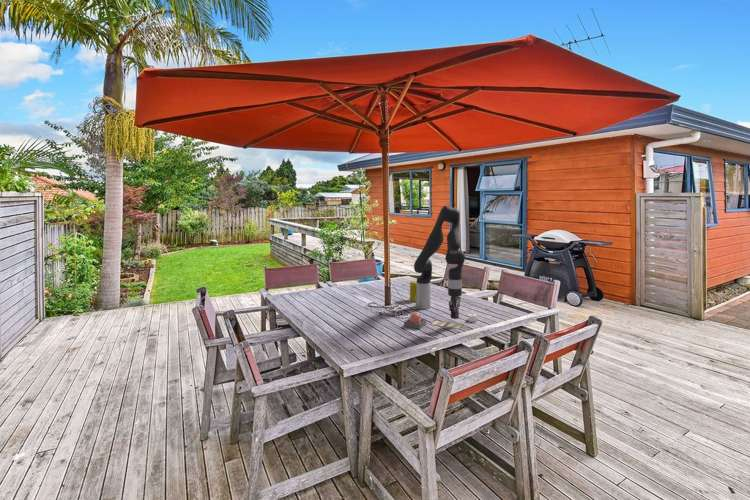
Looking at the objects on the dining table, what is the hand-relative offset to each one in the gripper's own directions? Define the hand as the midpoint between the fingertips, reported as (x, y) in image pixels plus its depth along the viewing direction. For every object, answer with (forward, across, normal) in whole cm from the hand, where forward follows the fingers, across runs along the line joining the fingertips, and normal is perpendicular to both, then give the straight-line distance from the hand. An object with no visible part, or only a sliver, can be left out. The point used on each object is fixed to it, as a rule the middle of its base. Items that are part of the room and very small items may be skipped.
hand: (454, 316), depth 209 cm
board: (+6, 0, +5) cm, 8 cm away
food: (+6, +45, +44) cm, 63 cm away
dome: (+4, -10, +20) cm, 23 cm away
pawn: (+1, 0, 0) cm, 1 cm away
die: (+6, +14, -6) cm, 17 cm away
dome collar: (+6, -10, +20) cm, 23 cm away
